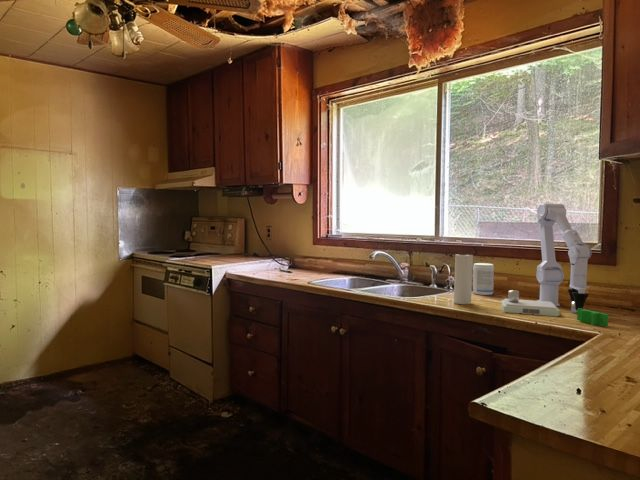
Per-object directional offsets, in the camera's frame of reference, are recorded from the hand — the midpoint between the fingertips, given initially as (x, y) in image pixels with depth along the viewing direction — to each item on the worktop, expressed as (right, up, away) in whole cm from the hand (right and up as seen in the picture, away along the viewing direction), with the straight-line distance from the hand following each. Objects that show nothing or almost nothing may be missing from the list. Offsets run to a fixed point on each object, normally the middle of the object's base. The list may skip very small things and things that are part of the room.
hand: (576, 308), depth 188 cm
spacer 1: (-24, +2, +4) cm, 24 cm away
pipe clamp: (-5, -3, -17) cm, 18 cm away
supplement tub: (-23, +1, +41) cm, 48 cm away
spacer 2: (0, -2, 0) cm, 2 cm away
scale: (-18, -1, +3) cm, 18 cm away
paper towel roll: (-41, 0, +16) cm, 44 cm away
